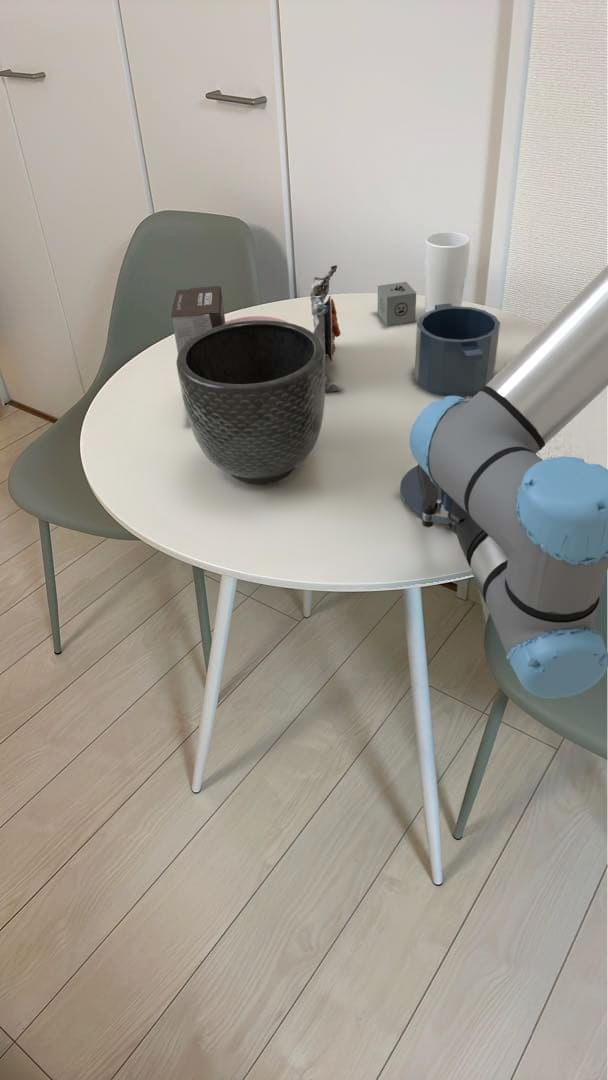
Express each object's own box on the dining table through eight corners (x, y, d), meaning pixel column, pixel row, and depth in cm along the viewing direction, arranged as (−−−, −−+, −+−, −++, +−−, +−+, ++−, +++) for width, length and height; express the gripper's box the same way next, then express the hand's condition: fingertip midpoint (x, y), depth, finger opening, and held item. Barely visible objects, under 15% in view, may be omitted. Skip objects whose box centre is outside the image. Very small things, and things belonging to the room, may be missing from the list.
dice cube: (415, 321, 127) (416, 292, 124) (386, 326, 126) (387, 297, 123) (405, 309, 131) (406, 281, 127) (377, 314, 130) (377, 285, 127)
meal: (343, 391, 110) (341, 306, 102) (314, 393, 111) (310, 307, 102) (339, 345, 122) (337, 264, 113) (312, 346, 122) (309, 266, 113)
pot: (474, 347, 119) (480, 295, 113) (509, 401, 106) (517, 345, 100) (403, 355, 118) (405, 303, 112) (430, 410, 105) (433, 354, 100)
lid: (486, 460, 95) (495, 389, 89) (519, 521, 86) (532, 447, 79) (390, 471, 95) (392, 401, 88) (413, 534, 85) (416, 461, 79)
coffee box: (234, 421, 106) (220, 312, 95) (189, 425, 106) (170, 317, 95) (234, 389, 113) (221, 284, 102) (191, 392, 113) (174, 288, 102)
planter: (186, 443, 102) (165, 333, 92) (307, 418, 105) (301, 309, 95) (209, 518, 90) (188, 400, 79) (346, 488, 93) (344, 371, 82)
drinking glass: (441, 345, 120) (448, 250, 110) (411, 332, 124) (415, 239, 114) (470, 331, 123) (480, 238, 113) (440, 319, 127) (446, 228, 117)
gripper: (425, 591, 74) (378, 457, 92) (578, 571, 75) (503, 443, 93) (429, 533, 70) (379, 404, 87) (593, 513, 70) (511, 389, 88)
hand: (443, 424), depth 90 cm, fingers closed on lid, 3 cm apart
